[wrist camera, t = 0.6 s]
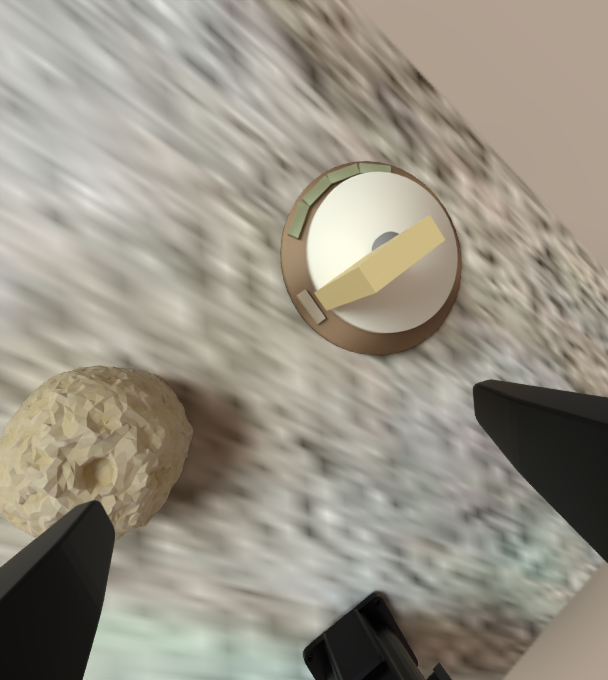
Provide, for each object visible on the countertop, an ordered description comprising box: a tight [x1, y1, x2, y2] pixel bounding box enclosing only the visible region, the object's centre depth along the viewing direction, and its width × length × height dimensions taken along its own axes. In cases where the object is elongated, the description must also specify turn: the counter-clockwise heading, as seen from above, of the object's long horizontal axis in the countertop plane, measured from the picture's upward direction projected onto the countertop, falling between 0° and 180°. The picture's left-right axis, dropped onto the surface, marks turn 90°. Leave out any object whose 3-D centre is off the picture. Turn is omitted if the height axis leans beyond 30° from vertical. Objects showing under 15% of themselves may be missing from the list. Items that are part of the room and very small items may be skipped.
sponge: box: [0, 366, 194, 541], centre depth 19 cm, size 9×10×10 cm
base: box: [280, 161, 461, 355], centre depth 26 cm, size 14×14×1 cm
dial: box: [305, 172, 458, 333], centre depth 21 cm, size 11×12×8 cm
